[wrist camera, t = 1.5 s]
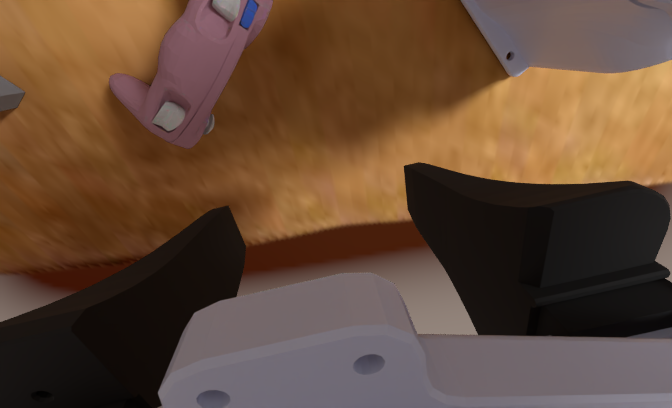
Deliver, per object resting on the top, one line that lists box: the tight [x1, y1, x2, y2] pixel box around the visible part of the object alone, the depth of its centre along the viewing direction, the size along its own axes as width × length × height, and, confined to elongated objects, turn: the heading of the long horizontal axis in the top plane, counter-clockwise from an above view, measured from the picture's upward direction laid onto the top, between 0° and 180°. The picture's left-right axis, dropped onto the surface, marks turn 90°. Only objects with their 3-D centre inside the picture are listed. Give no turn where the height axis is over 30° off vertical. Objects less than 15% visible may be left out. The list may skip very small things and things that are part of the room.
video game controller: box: [109, 0, 273, 149], centre depth 15 cm, size 10×5×7 cm, turn 143°
